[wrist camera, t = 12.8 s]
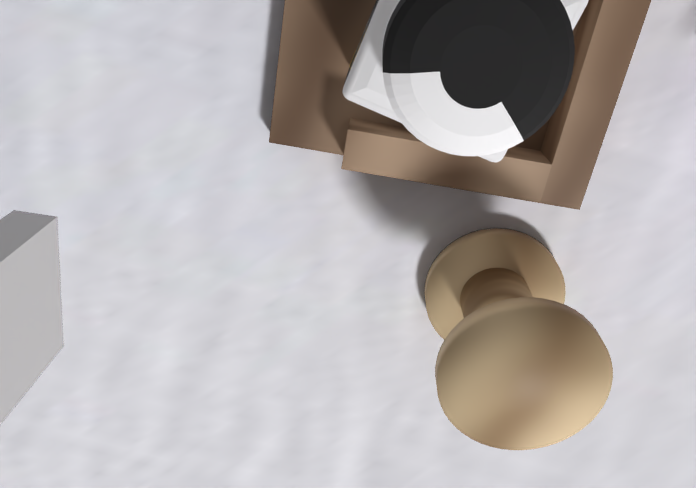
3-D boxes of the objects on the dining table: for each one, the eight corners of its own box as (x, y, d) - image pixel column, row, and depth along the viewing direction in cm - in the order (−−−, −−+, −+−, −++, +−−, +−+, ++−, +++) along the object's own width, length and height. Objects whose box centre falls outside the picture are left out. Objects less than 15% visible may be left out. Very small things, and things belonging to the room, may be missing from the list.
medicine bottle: (408, -79, 28) (426, -106, 17) (547, -13, 29) (648, 1, 18) (347, 69, 31) (329, 127, 20) (476, 126, 32) (526, 211, 21)
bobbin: (412, 335, 39) (420, 435, 30) (441, 217, 35) (459, 294, 27) (538, 356, 39) (580, 461, 31) (578, 241, 35) (638, 324, 27)
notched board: (272, 136, 34) (261, 154, 30) (306, -165, 28) (297, -182, 25) (560, 186, 34) (579, 209, 31) (653, -101, 28) (688, -110, 25)
